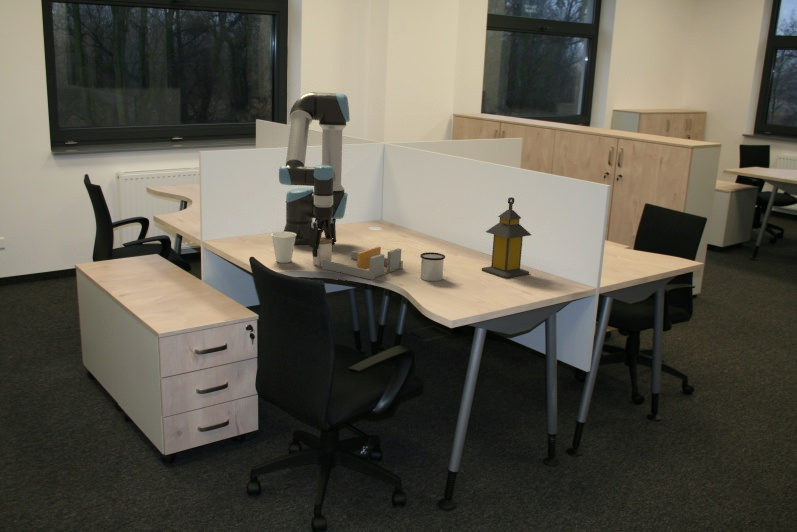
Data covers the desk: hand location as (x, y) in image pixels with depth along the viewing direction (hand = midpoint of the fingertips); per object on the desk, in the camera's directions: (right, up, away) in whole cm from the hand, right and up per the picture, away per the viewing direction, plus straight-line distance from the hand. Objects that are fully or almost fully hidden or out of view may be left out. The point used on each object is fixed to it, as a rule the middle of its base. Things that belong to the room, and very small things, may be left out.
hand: (322, 262), depth 296 cm
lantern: (+73, -4, 0) cm, 73 cm away
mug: (+43, -6, -12) cm, 46 cm away
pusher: (+22, -3, -8) cm, 24 cm away
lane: (+16, -2, -4) cm, 17 cm away
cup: (-16, 0, +2) cm, 16 cm away
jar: (0, -1, 0) cm, 1 cm away
